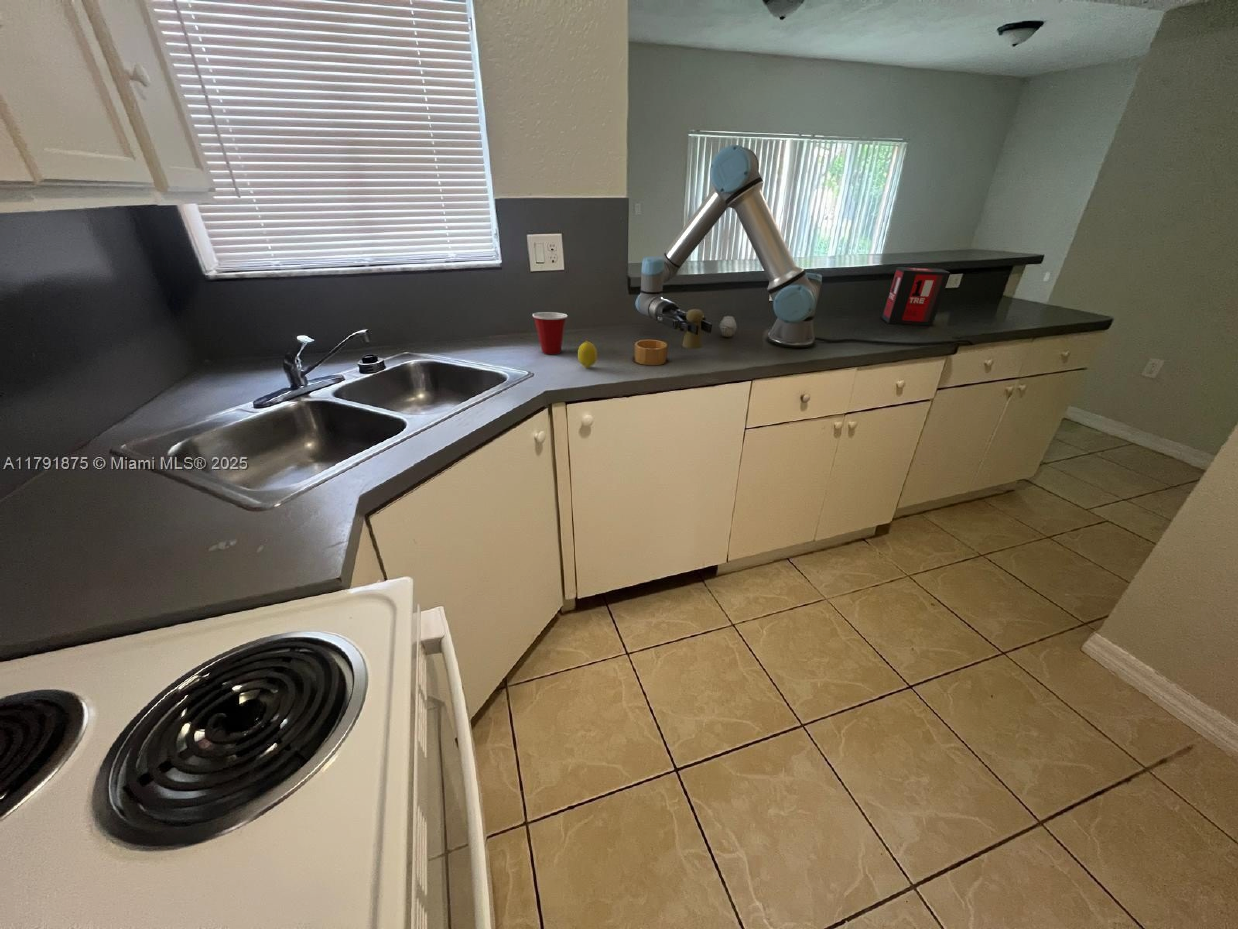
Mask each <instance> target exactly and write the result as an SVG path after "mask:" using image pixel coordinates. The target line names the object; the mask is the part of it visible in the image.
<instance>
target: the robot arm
mask: <svg viewBox="0 0 1238 929" xmlns="http://www.w3.org/2000/svg"><path fill="white" fill-rule="evenodd" d="M709 177H710V178H709V179H710V183H711V185H712V186H713V187H712V190H711V191H710V192H709V193H708V195H707V196H706V198H705V199H704V200H703V202H702V203H701V204H700V206H699V207H698V208H697V209H696V211H695V212H694V213H693V215H692V216H691V217H690V218H689V220H688V221H687V223H686V224H685V225H684V227H682V229H681V231H680V232H679V233H678V234H677V235H676V236H675V237H676V238H674V240H673V241H672V242H671V244H670V245H669V246H668V248H667V249H666V250H665V252H664V253H663V254H662V256H661V257H659V256H648V257H647V256H646V257H644V258H643V259H642V261H641V269H640V272H641V277H640V279H641V280H640V282H641V283H640V293H639V294H638V295H637V298H636V299H635V308H636V310H637V311H638V313H640V314H641V315H643V316H644V317H648V318H650V319H652V320H654V321H656V322H657V323H658V324H662V325H664V326H667V327H669V328H671V329H674V330H678V329H679V332H684V331H686V330H687V331H689V332H691V333H693V334H695V335H698V329H699V325H696V324H694V323H692V322H689V321H688V320H687V318H686V314H687V312H688V311H687V312H686V311H684V310H682V309H680V307H679V306H678V304H677V303H675V302H673V301H671V300H669V299H665V298H663V292H664V289H663V287H664V284H665V283H667V282H670V281H671V280H670V279H672V278H673V277H674V278H675V277H677V275H678V274H679V270H680V269H681V267H682V266H683V265H684V263H685V262H686V261H687V259H688V258H690V256H691V255H692V254H693V252H694V251H695V250H696V249H697V247H698V246H699V245H700V243H702V241H703V240H704V238H705V237H706V236H707V235H708V234H709V233H710V231H711V230H712V228H713V227H714V226H716V223H717V222H718V221H719V220H720V218H722V216H723V215H724V213H725V212H727V210H728V208H730V209H733V210H734V211H735V213H736V215H737V218H738V219H739V222H740V223H741V226H742V227H743V230H744V232H745V234H746V236H747V238H748V240H749V243H750V245H751V247H752V249H753V251H754V253H755V255H756V257H757V259H758V261H759V263H760V265H761V267H762V269H763V271H764V273H765V275H766V278H767V279H768V280H767V281H769V282H768V286H767V289H766V290H767V292H768V294H769V296H770V298H771V300H772V306H773V308H772V309H773V312H774V314H775V316H776V317H777V318H776V320H775V322H774V324H773V326H772V327H771V329H770V331H769V333H768V337H767V340H768V342H769V343H770V344H773V345H776V346H778V347H782V348H783V347H784V348H792V349H805V348H810V347H811V348H812V347H813V346H814V342H815V341H820V342H821V341H822V342H826V343H841V342H843V343H844V342H853V343H854V342H855V343H866V344H879V345H881V344H882V345H896V346H929V345H941V344H956V343H957V344H958V343H965V342H966V343H969V344H970V345H971V346H976V344H975V342H974V341H973V340H971V339H970V338H969V339H968V338H961V339H947V340H946V339H945V340H935V341H912V342H911V341H887V340H873V339H864V338H863V339H862V338H837V339H836V338H835V339H834V338H833V339H831V338H824V337H819V336H815V331H814V317H815V313H816V309H817V304H818V300H819V296H820V290H821V287H822V284H823V276H822V274H820V273H813V272H812V273H811V272H806V271H805V269H804V268H802V267H798V266H797V265H796V263H795V261H794V259H793V256H792V255H791V252H790V250H789V248H788V246H787V243H786V241H785V239H784V237H783V235H782V232H781V230H780V228H779V226H778V224H777V221H776V220H775V218H774V216H773V213H772V211H771V208H770V206H769V204H768V202H767V201H766V198H765V196H764V194H763V192H762V190H763V186H764V180H763V178H762V176H761V173H760V163H759V159H758V156H757V155H756V153H755V152H754V151H753V150H752V149H750V148H748V147H745V146H742V145H739V144H731V145H728V146H725V147H723V148H722V149H721V150H719V151H718V152H717V153H716V154H715V155H714V157H713V159H712V161H711V163H710V167H709ZM674 278H673V279H674ZM673 279H672V280H673ZM669 280H670V281H669ZM706 319H707V318H706V317H705V316H703V320H702V321H701V331H703V332H706V333H707V334H711V333H712V329H713V323H711V322H709V321H706Z"/></svg>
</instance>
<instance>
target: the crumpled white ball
mask: <svg viewBox="0 0 1238 929" xmlns="http://www.w3.org/2000/svg"><path fill="white" fill-rule="evenodd" d="M718 326H719V330H720V333H721V335H722V336H723V337H726V338H731V337H732V336H734V334H735V332H736V330H737V328H738V327H737V322H736V320H735V318H734V316H731V315H727V316H723V318H722V320H721V321H720V324H719V325H718Z"/></svg>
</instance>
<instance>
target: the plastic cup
mask: <svg viewBox="0 0 1238 929" xmlns="http://www.w3.org/2000/svg"><path fill="white" fill-rule="evenodd" d="M532 317H533V319H534V322H535V326H536V331H537V335H538V339H539V342H540V347H541V351H542V353H543V354H545V355H557V354H560V353H561V351H562V343H563V339H564V332H565V325H566V320H567V318H568V315H567V314H566V313H563V312H554V311H541V312H540V311H539V312H533V313H532Z"/></svg>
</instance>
